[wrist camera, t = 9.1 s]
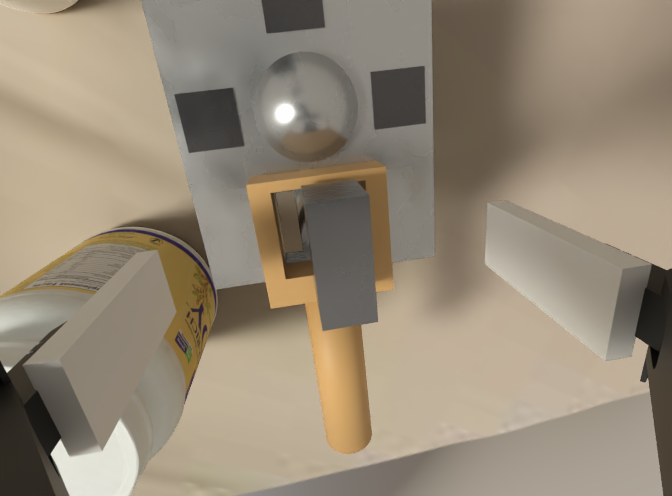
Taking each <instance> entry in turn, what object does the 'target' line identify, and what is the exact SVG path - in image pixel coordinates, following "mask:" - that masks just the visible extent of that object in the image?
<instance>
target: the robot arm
mask: <svg viewBox="0 0 672 496" xmlns="http://www.w3.org/2000/svg"><path fill="white" fill-rule="evenodd" d="M485 265H487V266H488V267H489V268H490V269H491V270H493V271H494V272H495V273H496V274H498V275H499V276H500V277H501V278H503V279H504V280H505V281H506V282H508V283H509V284H510V285H511V286H512V287H514V288H515V289H516V290H517V291H519V292H520V293H521V294H522V295H524V296H525V297H526V298H527V299H529V300H530V301H531V302H532V303H534V304H535V305H536V306H537V307H538V308H540V309H541V310H542V311H543V312H545V313H546V314H547V315H548V316H550V317H551V318H552V319H553V320H555V321H556V322H557V323H558V324H559V325H561V326H562V327H563V328H564V329H566V330H567V331H568V332H569V333H571V334H572V335H573V336H574V337H576V338H577V339H578V340H579V341H581V342H582V343H583V344H584V345H585V346H587V347H588V348H589V349H590V350H592V351H593V352H594V353H595V354H597V355H598V356H599V357H600V358H602V359H603V360H604V361H610V360H616V359H621V358H627V357H632V352H633V348H634V343H635V338H636V337H637V338H639V339H640V340H642V341H643V342H645V343H646V344H648V345H649V346H648V350H647V354H646V359H645V363H644V367H643V371H642V375H641V380H640V381H642V382H646V380H647V378H648V380H649V388H650V395H651V403H652V411H653V418H654V426H655V433H656V441H657V449H658V457H659V464H660V471H661V480H662V487H663V495H664V496H672V269H669V270H665V269H663V268H661V267H658V266H656V265H654V264H651V263H649V262H647V261H645V260H642V259H640V258H638V257H635V256H632V255H631V254H629V253H626V252H624V251H621V250H619V249H617V248H615V247H612V246H610V245H608V244H605V243H602V242H600V241H598V240H595V239H593V238H591V237H589V236H586V235H584V234H582V233H579V232H577V231H575V230H573V229H570V228H568V227H566V226H564V225H561V224H559V223H557V222H554V221H552V220H550V219H548V218H545V217H543V216H541V215H538V214H536V213H534V212H532V211H529V210H527V209H525V208H522V207H520V206H518V205H516V204H513V203H511V202H509V201H507V200H501V201H494V202H487V223H486V247H485ZM175 314H176V308H175V305H174V302H173V299H172V295H171V292H170V289H169V286H168V282H167V279H166V276H165V273H164V269H163V266H162V263H161V260H160V256H159V253H158V250H152V251H145V252H138V253H136V254H135V255H134V256H133V257H132V258H131V259H130V260H129V261H128V262H127V263H126V264H125V265H124V266H123V267H122V268H121V269H120V270H119V271H118V272H117V273H116V274H115V275H114V276H113V277H112V278H111V279H110V280H109V281H108V282H107V283H106V284H104V285H103V286H102V287H101V288H100V289H99V290H98V291H97V292H96V293H95V294H94V295H93V296H92V297H91V298H90V299H89V300H88V301H87V302H86V303H85V304H84V305H83V306H82V307H81V308H80V309H79V310H78V311H77V312H76V313H75V314H74V315H73V316H72V317H71V318H70V319H69V320H68V321H66V322H64V323H63V324H61V325H60V326H58V327H56V328H55V329H53V330H52V331H50V332H49V333H48V334H47V335H46V336H45V337H44V338H43V339H42V340H41V341H40V342H39V344H38V345H36V346H35V347H34V348H32V349H31V350H30V351H29V354H26V355H25V356H24V357H23V358H22V359H21V360H20V361H19V362H18V363H17V364H16V365H15V366H14V367H13V368H12V369H11V370H10V371H8V372H6V370H5V368H4V367H3V365H2V363H1V361H0V496H69V493H68V491H67V489H66V486H65V484H64V482H63V479H62V477H61V475H60V472H59V470H58V467H57V465H56V463H55V461H54V459H53V458H52V456H51V452H52V451H53V449H54V448H55V446H56V445H57V444H58V442H59V441H60V439H61V441H62V443H63V445H64V447H65V449H66V451H67V453H68V455H69V457H74V456H80V455H86V454H91V453H97V452H102V451H103V449H104V447H105V446H106V444H107V442H108V440H109V438H110V436H111V434H112V432H113V431H114V429H115V427H116V425H117V423H118V421H119V419H120V417H121V416H122V414H123V412H124V410H125V408H126V406H127V404H128V402H129V401H130V399H131V397H132V395H133V393H134V391H135V389H136V387H137V385H138V384H139V382H140V380H141V378H142V376H143V374H144V372H145V370H146V369H147V367H148V365H149V363H150V361H151V359H152V357H153V355H154V354H155V352H156V350H157V348H158V346H159V344H160V342H161V340H162V339H163V337H164V335H165V333H166V331H167V329H168V327H169V325H170V323H171V322H172V320H173V318H174V316H175Z"/></svg>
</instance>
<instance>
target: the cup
mask: <svg viewBox="0 0 672 496" xmlns="http://www.w3.org/2000/svg"><path fill="white" fill-rule="evenodd" d="M77 1H78V0H0V5H3V6H6V7H9V8H12V9H16V10H19V11H23V12H28V13H37V14H48V13H55V12H59V11H62V10H64V9H66V8H68V7H70V6H72V5H73V4H75V3H76V2H77Z"/></svg>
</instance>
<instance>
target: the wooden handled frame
mask: <svg viewBox="0 0 672 496" xmlns="http://www.w3.org/2000/svg"><path fill="white" fill-rule="evenodd" d="M347 179H355V180H356V181H359V184H360V185H361V186H362V188H363V189H364V190H365V191H366V192H367V193H368V194H369V199H370V213H371V228H372V242H373V257H374V271H375V286H376V292H381V291H387V290H393V274H392V258H391V241H390V224H389V208H388V191H387V174H386V166H385V165H383V164H381V163H380V162H378V161H377V160H376V161H368V162H360V163H353V164H345V165H338V166H330V167H322V168H315V169H307V170H300V171H292V172H284V173H277V174H269V175H262V176H254V177H250V178H249V180H248V182H247V184H246V188H247V193H248V198H249V203H250V208H251V213H252V218H253V222H254V227H255V232H256V237H257V242H258V247H259V252H260V257H261V262H262V267H263V272H264V277H265V282H266V287H267V292H268V297H269V302H270V307H271V309H273V308H279V307H286V306H292V305H299V304H305V307H306V313H307V319H308V326H309V332H310V338H311V344H312V350H313V357H314V363H315V369H316V375H317V382H318V388H319V394H320V400H321V406H322V413H323V419H324V425H325V431H326V438H327V442H328V444H329V445H330V447H331V448H332V449H334V450H335V451H337V452H340V453H344V454H351V453H356V452H358V451H360V450H362V449H364V448H365V447H366V446H367V445H368V443H369V442H370V440H371V436H372V430H371V420H370V410H369V400H368V390H367V380H366V370H365V360H364V350H363V340H362V330H361V325H356V326H350V327H344V328H338V329H333V330H327V331H323V330H322V325H321V319H320V314H319V309H318V303H317V298H316V292H315V284H314V277H313V270H312V263H311V261H310V260H308V261H301V262H294V263H287V264H286V262H285V256H284V250H283V245H282V239H281V233H280V227H279V222H278V216H277V210H276V204H275V199H274V192H281V191H289V190H296V189H301V186H302V185H309V184H317V183H324V182H332V181H339V180H347Z"/></svg>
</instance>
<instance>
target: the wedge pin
mask: <svg viewBox="0 0 672 496" xmlns="http://www.w3.org/2000/svg"><path fill="white" fill-rule="evenodd" d="M294 195H295V202H296V208H297V214H298V220H299V227H300V233H301V239H302V245H303V250H304V252H305V254H306V256H307V257H308V259H309V260H310V261H311V263H312V270H313V277H314V284H315V292H316V298H317V303H318V309H319V314H320V319H321V325H322V330H323V331H327V330H333V329H338V328H344V327H350V326H356V325H362V324H368V323H374V322H378V315H377V300H376V286H375V271H374V257H373V242H372V228H371V213H370V199H369V194H368V193H367V192H366V191H365V190H364V189H363V188H362V186H361V185H360V184H359V183H358V182H357V181H356V180H355V179H347V180H339V181H332V182H324V183H317V184H309V185H302V186H301V189H296V190H294Z"/></svg>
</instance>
